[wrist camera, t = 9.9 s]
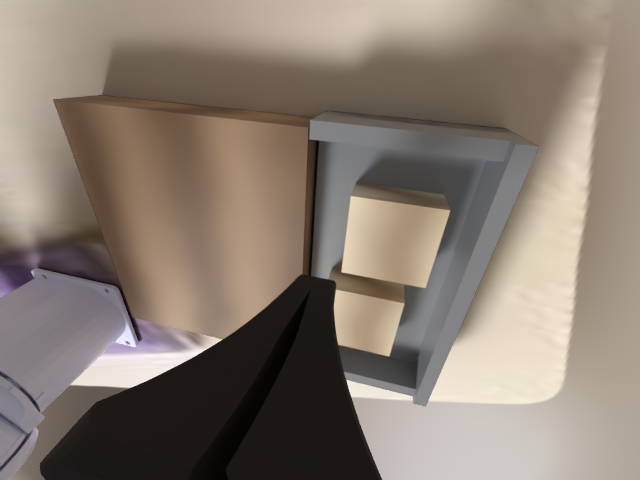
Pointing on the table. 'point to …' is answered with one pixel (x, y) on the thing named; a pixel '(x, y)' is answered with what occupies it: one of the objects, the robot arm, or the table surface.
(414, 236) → the tile
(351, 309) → the tile
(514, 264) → the table surface
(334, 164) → the slate bin
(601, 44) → the table surface
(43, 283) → the robot arm
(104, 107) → the walnut board
